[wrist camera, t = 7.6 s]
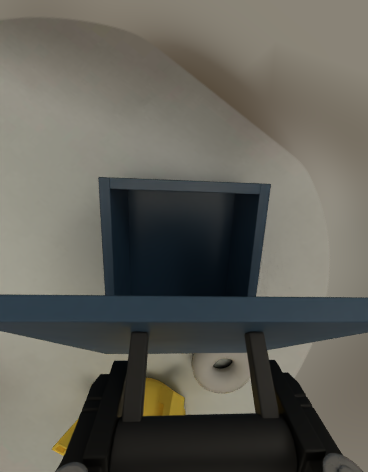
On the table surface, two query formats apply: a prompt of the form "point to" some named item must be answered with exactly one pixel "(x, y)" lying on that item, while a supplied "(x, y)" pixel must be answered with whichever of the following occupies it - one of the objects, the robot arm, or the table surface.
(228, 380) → the donut
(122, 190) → the cool box
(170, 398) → the teapot
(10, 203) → the table surface
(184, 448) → the cool box lid
